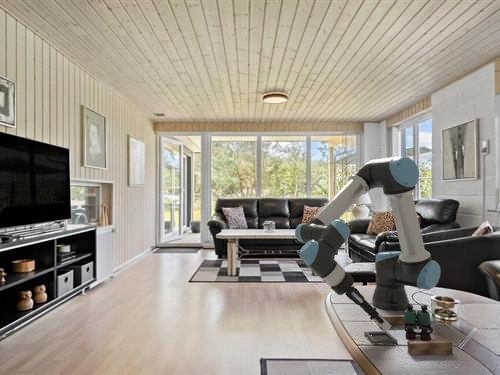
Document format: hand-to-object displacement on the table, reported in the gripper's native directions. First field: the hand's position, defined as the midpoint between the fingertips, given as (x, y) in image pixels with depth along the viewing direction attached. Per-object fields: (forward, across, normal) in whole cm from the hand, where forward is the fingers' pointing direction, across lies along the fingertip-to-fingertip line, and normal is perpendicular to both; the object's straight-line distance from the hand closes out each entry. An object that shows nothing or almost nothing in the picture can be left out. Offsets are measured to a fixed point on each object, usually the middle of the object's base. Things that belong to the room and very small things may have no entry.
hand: (387, 328), depth 120 cm
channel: (+8, 0, +3) cm, 9 cm away
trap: (+1, 0, -4) cm, 4 cm away
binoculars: (+10, 0, +5) cm, 11 cm away
